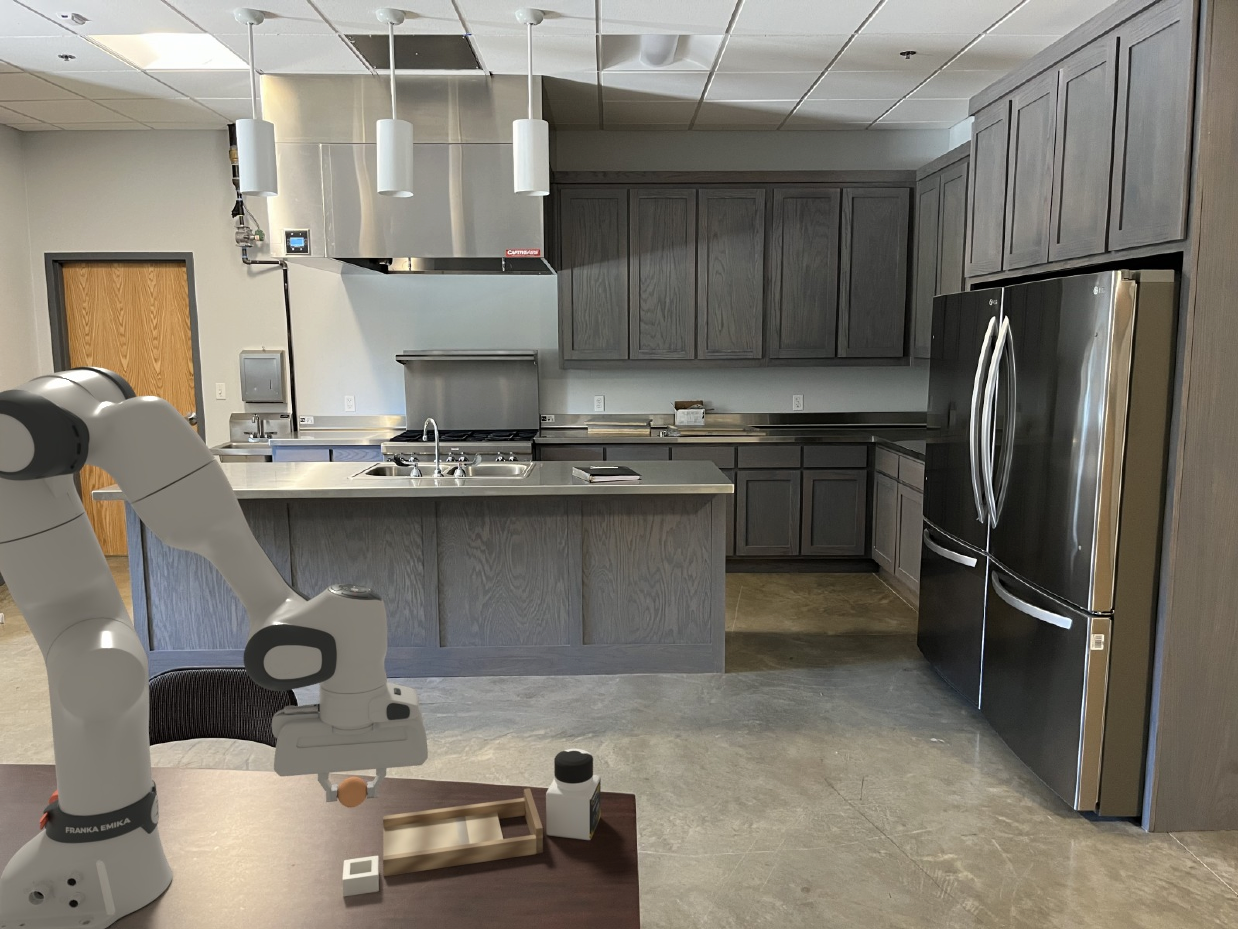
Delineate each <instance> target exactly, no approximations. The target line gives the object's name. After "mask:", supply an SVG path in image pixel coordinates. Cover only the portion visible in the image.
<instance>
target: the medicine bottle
mask: <svg viewBox="0 0 1238 929" xmlns="http://www.w3.org/2000/svg"><path fill="white" fill-rule="evenodd" d="M553 760H554V761H553V762H554V763H553V764H554V765H553V766H554V768H553V769H554V772H553V773H554V775H553V780H552V781H551V783H550V786H549V787H548V789H547V791H546V792H545V793H546V794H545V810H546V811H545V817H546V818H545V824H546V827H545V828H546V832H545V833H546V835H547V836H550V837H560V838H567V839H575V840H576V839H577V840H585V841H591V839H592V838H593V835H594V833H595V830H596V828H597V826H598V823H599V821H600V818H601V793H602V792H601V791H602V790H601V788H602V787H601V782H602V781H601V775H596V774H594V756H593V755H592V753H590V752H589V751H587V750H584V749H581V748H568V749H564V750H562V751H559V752H558V753H557V754H556V755H555V757H554V759H553Z"/></svg>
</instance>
